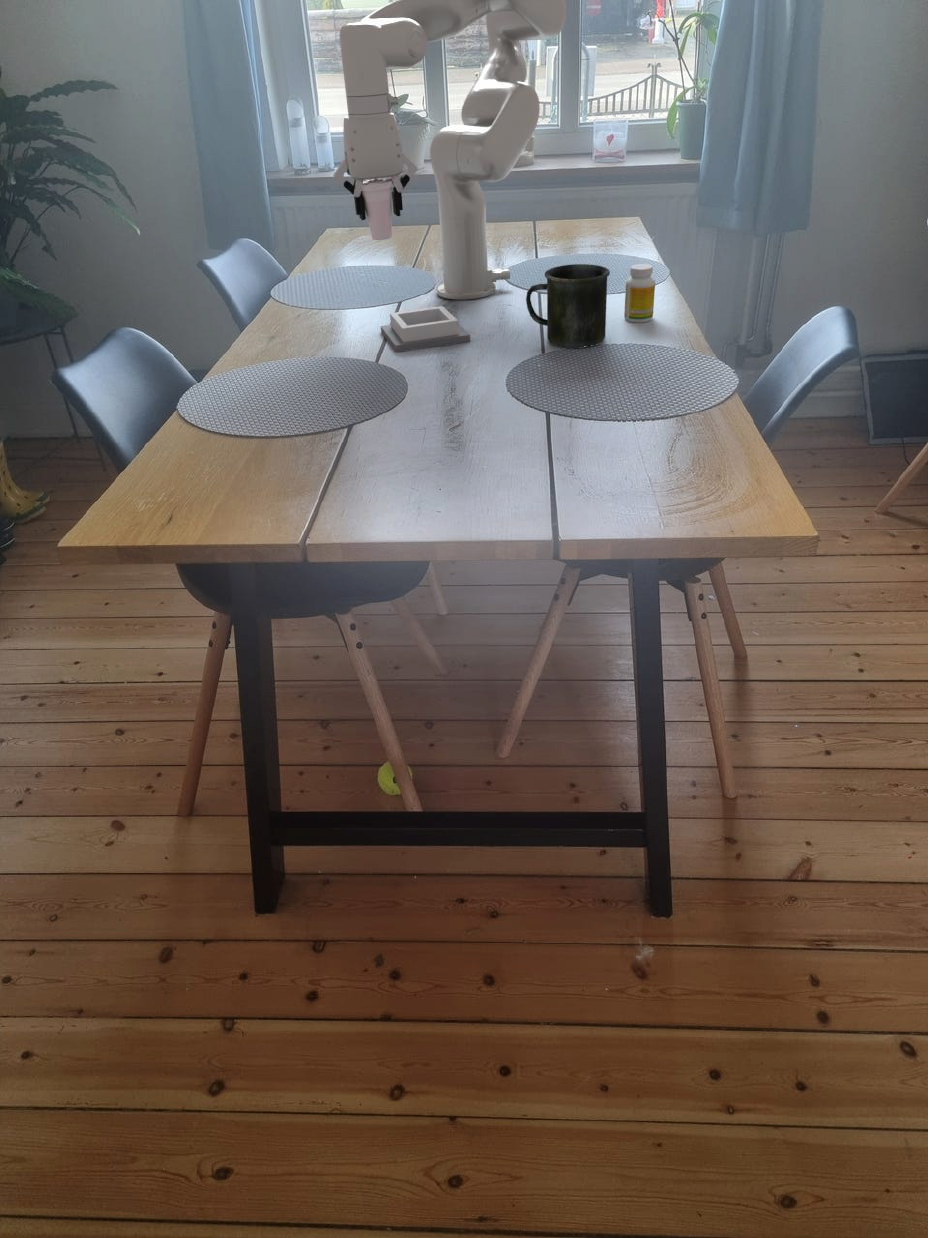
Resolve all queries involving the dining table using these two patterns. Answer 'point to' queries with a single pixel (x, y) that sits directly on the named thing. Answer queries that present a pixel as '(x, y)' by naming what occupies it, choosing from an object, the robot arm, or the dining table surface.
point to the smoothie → (378, 207)
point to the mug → (574, 305)
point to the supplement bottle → (639, 294)
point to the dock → (423, 329)
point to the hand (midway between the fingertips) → (379, 215)
